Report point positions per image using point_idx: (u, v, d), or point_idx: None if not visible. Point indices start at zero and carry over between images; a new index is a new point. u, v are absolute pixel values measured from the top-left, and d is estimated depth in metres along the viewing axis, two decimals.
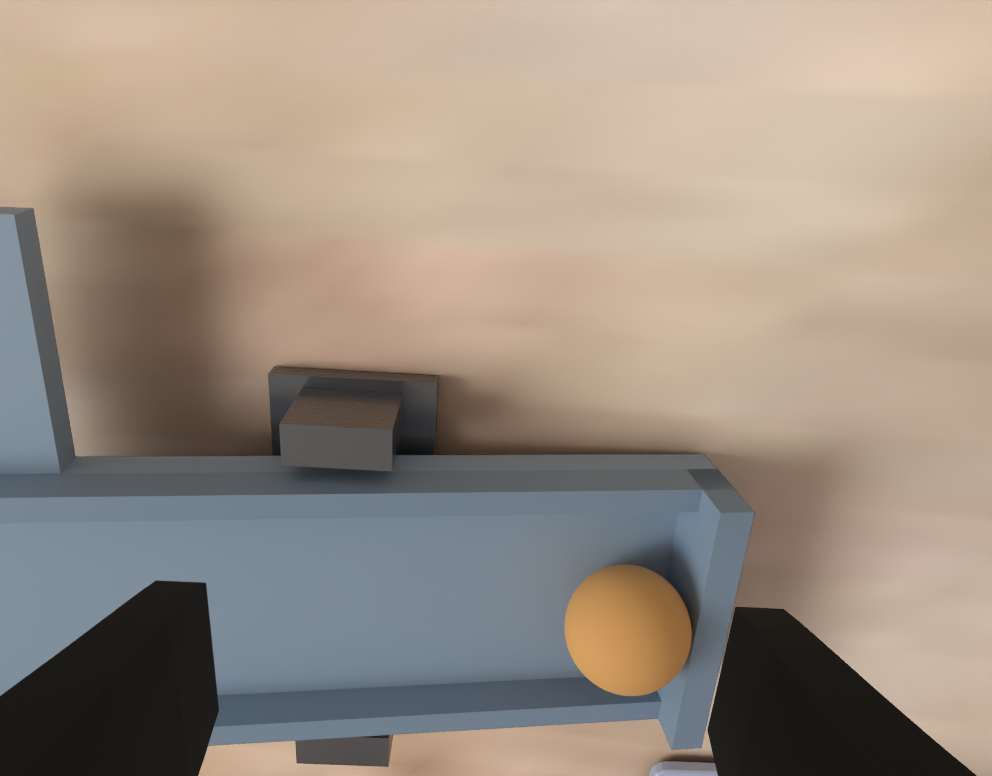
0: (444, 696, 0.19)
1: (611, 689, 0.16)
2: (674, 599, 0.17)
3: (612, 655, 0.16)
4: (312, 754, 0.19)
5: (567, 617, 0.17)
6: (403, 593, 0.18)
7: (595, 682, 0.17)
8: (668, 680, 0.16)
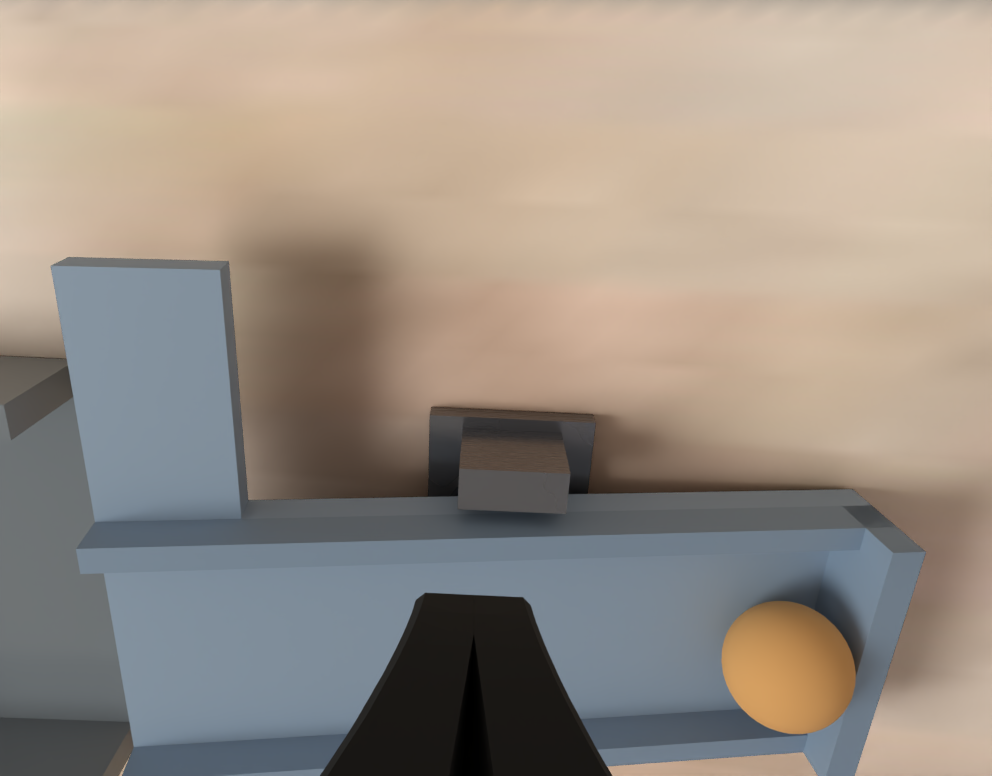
0: (593, 731, 0.19)
1: (779, 728, 0.17)
2: (839, 638, 0.17)
3: (785, 695, 0.16)
4: None
5: (728, 655, 0.17)
6: (558, 630, 0.18)
7: (761, 720, 0.17)
8: (836, 719, 0.16)
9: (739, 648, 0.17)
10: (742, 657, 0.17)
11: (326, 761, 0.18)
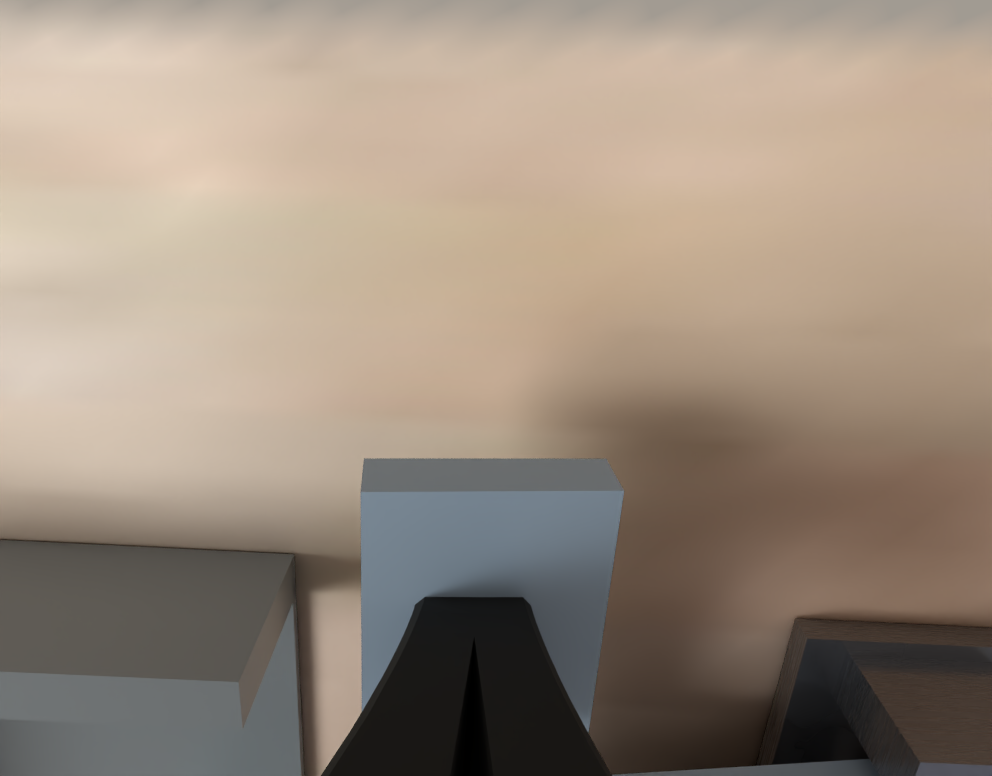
0: None
1: None
2: None
3: None
4: None
5: None
6: None
7: None
8: None
9: None
10: None
11: None
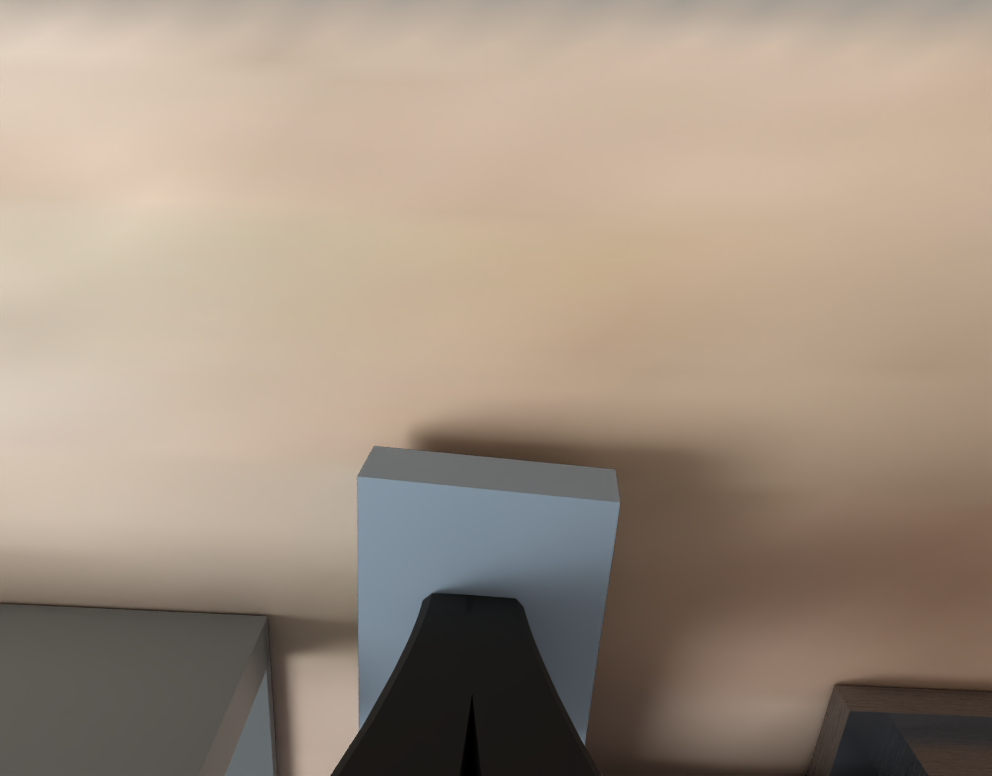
0: None
1: None
2: None
3: None
4: None
5: None
6: None
7: None
8: None
9: None
10: None
11: None
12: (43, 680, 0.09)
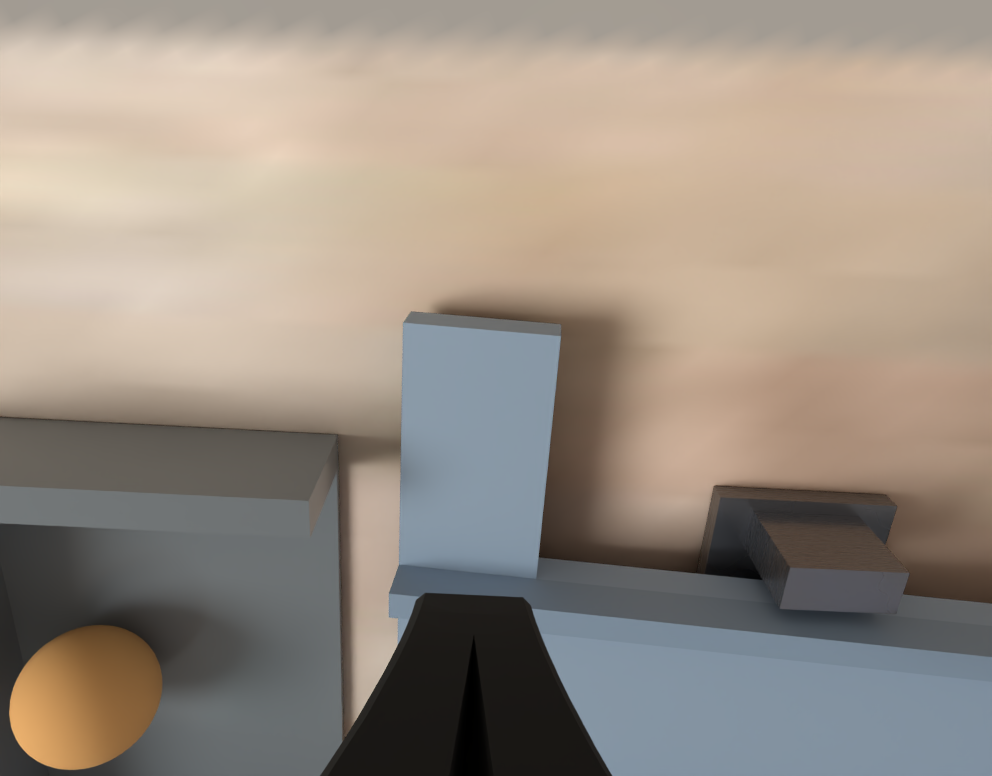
0: None
1: None
2: None
3: None
4: None
5: (157, 679, 0.17)
6: (846, 736, 0.16)
7: None
8: None
9: (151, 662, 0.17)
10: (152, 660, 0.17)
11: None
12: (205, 458, 0.14)
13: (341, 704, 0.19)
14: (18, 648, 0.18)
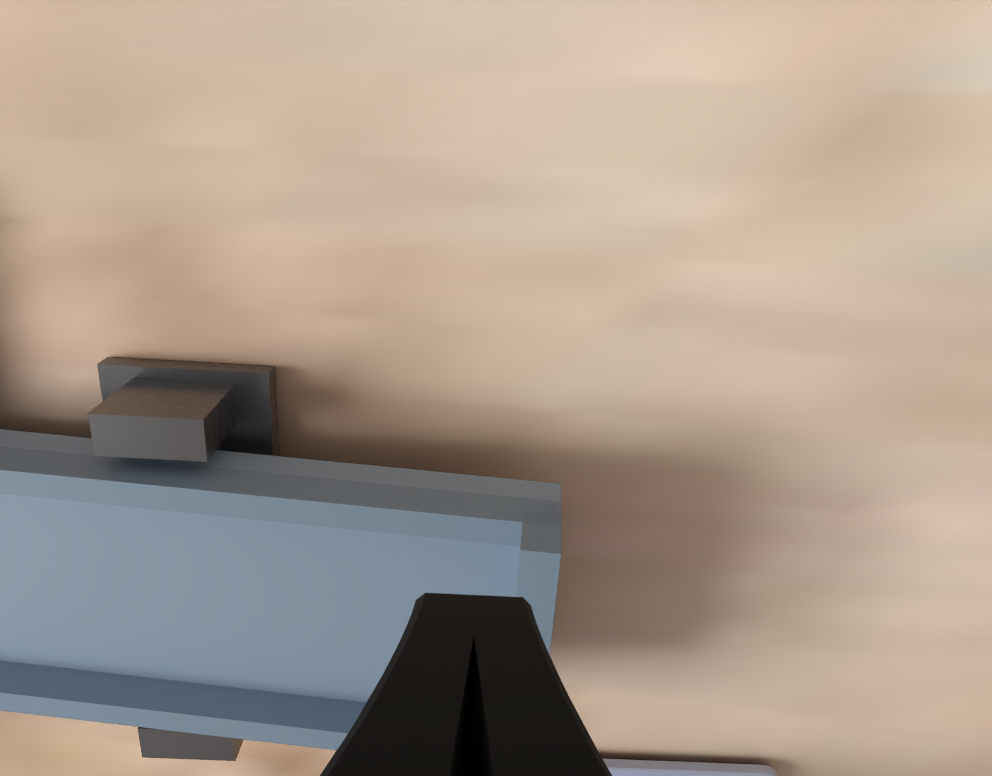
0: (277, 706, 0.18)
1: None
2: None
3: None
4: (156, 748, 0.19)
5: None
6: (233, 593, 0.17)
7: None
8: None
9: None
10: None
11: (6, 687, 0.18)
12: None
13: None
14: None
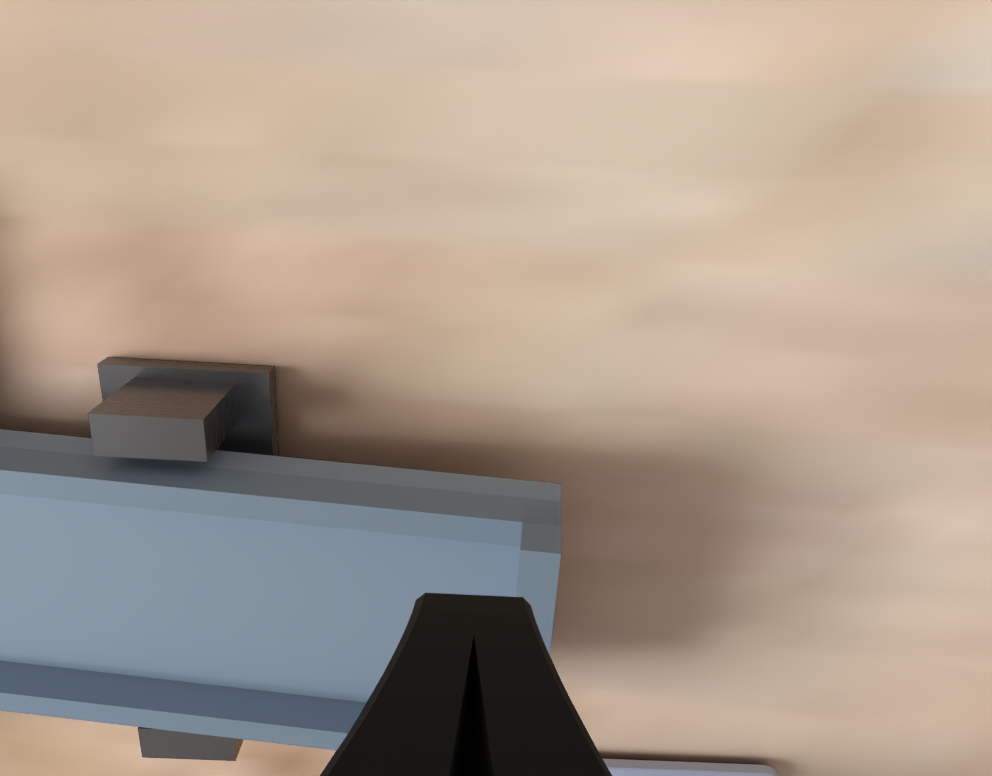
0: (277, 706, 0.18)
1: None
2: None
3: None
4: (156, 748, 0.19)
5: None
6: (233, 593, 0.17)
7: None
8: None
9: None
10: None
11: (6, 687, 0.18)
12: None
13: None
14: None
